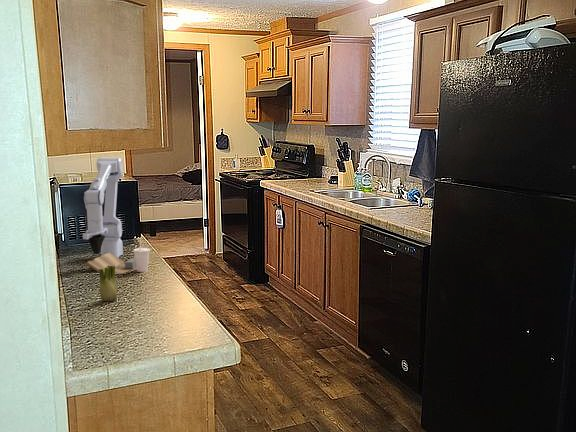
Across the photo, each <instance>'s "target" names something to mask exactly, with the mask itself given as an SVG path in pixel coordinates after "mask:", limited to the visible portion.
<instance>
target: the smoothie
mask: <svg viewBox="0 0 576 432" xmlns="http://www.w3.org/2000/svg"><path fill="white" fill-rule="evenodd" d="M132 251H133V252H132V253H133V254H134V258H135V261H136V272H140V273H145V272H148V269H149V257H150V252H151V249H150V248H149V247H142V239H141V238H139V247H138V248H134V249H133V250H132Z"/></svg>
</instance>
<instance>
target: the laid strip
mask: <svg viewBox="0 0 576 432" xmlns="http://www.w3.org/2000/svg"><path fill="white" fill-rule="evenodd" d="M134 269H137V267H136V266H135V267H134V268H133V269H130V268H125V263H123V264H120V265H118V266H116V267H115V275H116V274H118V275H123V274H125V273H127V272H130V271H132V270H134Z"/></svg>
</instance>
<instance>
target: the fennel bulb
mask: <svg viewBox="0 0 576 432" xmlns="http://www.w3.org/2000/svg"><path fill="white" fill-rule="evenodd" d="M98 273H99V296H100V299H101V301H102V302H113V301H115V300H117V299H118V284H117V281H116V273H115V265H111V266H110V265H107V267H105V271H103V268H100V269H99V272H98Z"/></svg>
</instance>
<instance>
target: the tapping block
mask: <svg viewBox="0 0 576 432" xmlns="http://www.w3.org/2000/svg"><path fill="white" fill-rule="evenodd" d="M124 262H125V268H130V269H132V270H134V269H135V268H134V267H135V266H136V261H135V257H132V258H131V257H130V258H128V260H126V261H124ZM133 268H134V269H133Z"/></svg>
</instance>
